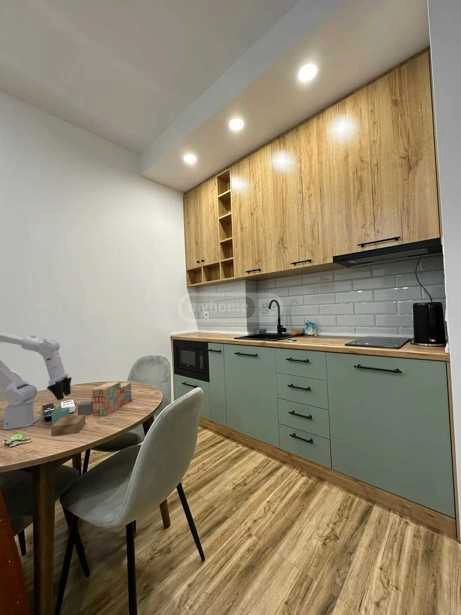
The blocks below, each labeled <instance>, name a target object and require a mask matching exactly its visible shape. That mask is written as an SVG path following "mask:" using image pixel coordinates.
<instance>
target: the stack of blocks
mask: <svg viewBox="0 0 461 615" xmlns="http://www.w3.org/2000/svg"><path fill="white" fill-rule="evenodd" d="M91 392H92V401H93V412H92V416H93V417H106V416H108V415H109V414H112V413H113V412H116V411H117V410H118V409H120V408H121V407H123V406H124V405H126V404H127V402H128V403H129V402H131V401H132V386H131V382H121V381H108V382H105V383H104V384H102V385H99V386H96V387H95V388H92V391H91ZM130 400H131V401H130ZM122 405H123V406H122ZM119 407H120V408H119Z"/></svg>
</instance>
